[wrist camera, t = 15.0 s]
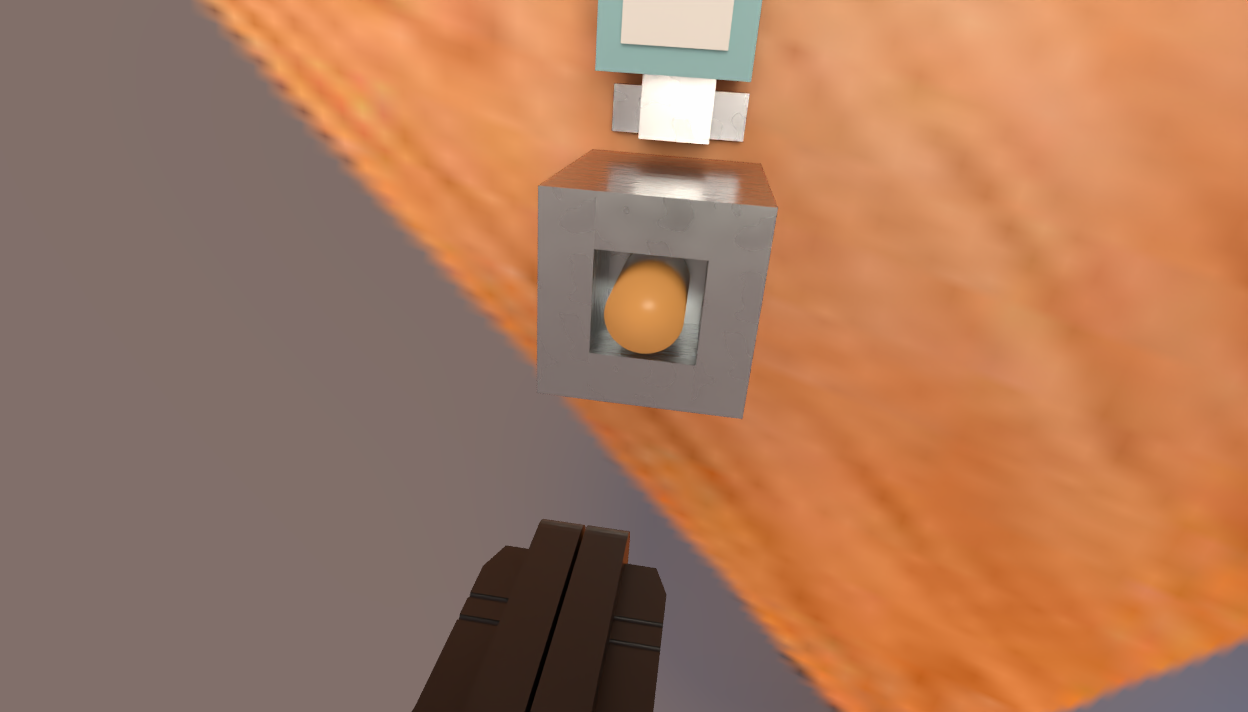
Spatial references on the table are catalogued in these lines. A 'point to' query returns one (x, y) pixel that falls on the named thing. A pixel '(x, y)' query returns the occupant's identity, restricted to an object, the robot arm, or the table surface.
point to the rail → (679, 110)
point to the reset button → (648, 303)
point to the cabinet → (663, 226)
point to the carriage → (678, 37)
